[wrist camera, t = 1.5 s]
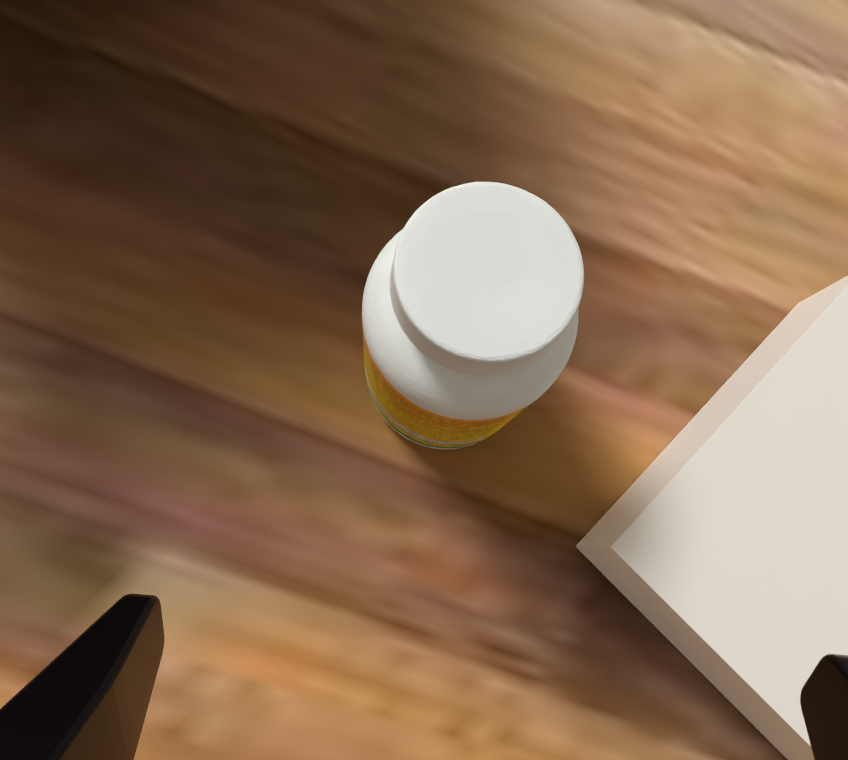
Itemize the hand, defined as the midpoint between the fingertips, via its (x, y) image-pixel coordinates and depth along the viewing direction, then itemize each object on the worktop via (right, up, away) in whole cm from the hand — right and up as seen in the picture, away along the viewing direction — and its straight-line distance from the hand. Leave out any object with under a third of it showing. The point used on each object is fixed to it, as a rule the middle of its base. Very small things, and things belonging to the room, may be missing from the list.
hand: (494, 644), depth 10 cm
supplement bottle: (0, +4, +15) cm, 15 cm away
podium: (+12, -2, +14) cm, 19 cm away
